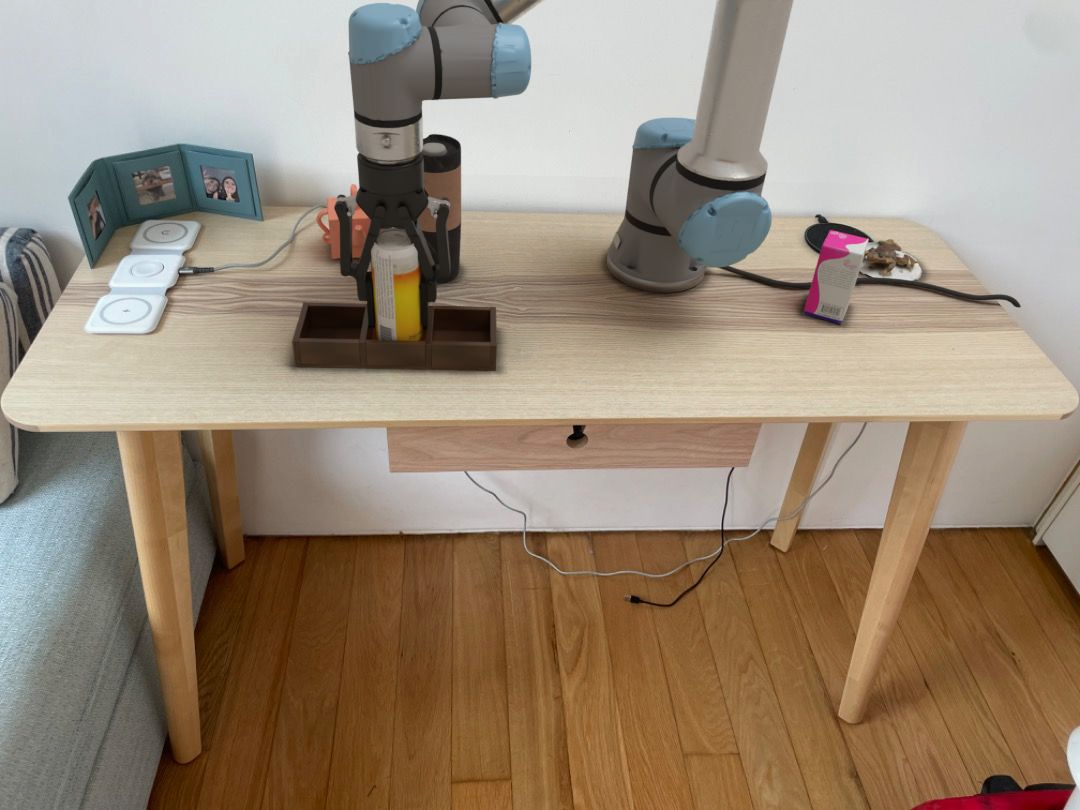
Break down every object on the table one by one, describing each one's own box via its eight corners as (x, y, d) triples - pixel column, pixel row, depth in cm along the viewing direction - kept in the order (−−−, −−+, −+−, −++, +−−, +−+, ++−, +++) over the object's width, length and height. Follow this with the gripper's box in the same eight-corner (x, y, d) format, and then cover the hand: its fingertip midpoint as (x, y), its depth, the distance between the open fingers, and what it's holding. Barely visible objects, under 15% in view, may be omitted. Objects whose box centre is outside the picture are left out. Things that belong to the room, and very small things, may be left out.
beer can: (430, 332, 121) (428, 232, 112) (410, 357, 116) (406, 254, 107) (389, 321, 122) (383, 222, 113) (368, 345, 118) (360, 243, 108)
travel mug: (452, 288, 133) (453, 159, 120) (403, 280, 134) (397, 151, 121) (466, 263, 139) (468, 137, 126) (418, 255, 140) (415, 130, 127)
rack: (495, 331, 125) (496, 306, 122) (495, 370, 118) (496, 345, 115) (306, 326, 123) (303, 302, 120) (295, 367, 116) (291, 341, 113)
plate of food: (895, 291, 140) (903, 270, 137) (832, 258, 147) (838, 237, 144) (936, 270, 146) (944, 249, 143) (873, 239, 153) (880, 219, 150)
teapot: (321, 276, 133) (315, 225, 128) (318, 227, 144) (313, 179, 139) (402, 272, 135) (400, 221, 130) (393, 224, 147) (391, 176, 141)
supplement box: (848, 306, 136) (870, 238, 128) (841, 325, 131) (863, 256, 124) (810, 295, 137) (830, 227, 130) (801, 314, 133) (821, 245, 126)
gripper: (299, 163, 99) (320, 335, 114) (473, 168, 101) (472, 338, 115) (310, 135, 105) (328, 303, 120) (474, 141, 107) (472, 306, 121)
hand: (398, 320), depth 118 cm, fingers closed on beer can, 6 cm apart
